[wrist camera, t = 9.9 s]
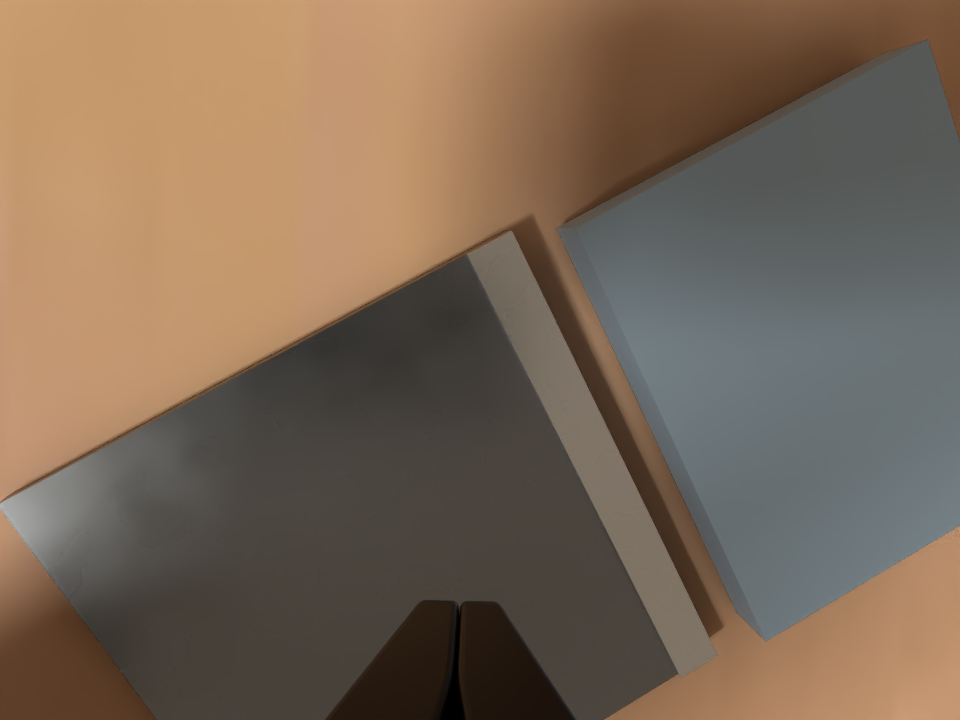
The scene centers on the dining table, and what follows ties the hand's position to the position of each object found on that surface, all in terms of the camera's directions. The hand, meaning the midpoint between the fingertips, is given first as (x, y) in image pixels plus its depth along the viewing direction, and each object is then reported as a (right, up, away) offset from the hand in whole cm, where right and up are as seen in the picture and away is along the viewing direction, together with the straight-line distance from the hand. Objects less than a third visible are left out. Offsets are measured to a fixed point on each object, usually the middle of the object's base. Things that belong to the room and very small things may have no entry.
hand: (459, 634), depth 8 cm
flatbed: (-2, -3, +11) cm, 12 cm away
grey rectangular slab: (+5, +1, +11) cm, 12 cm away
